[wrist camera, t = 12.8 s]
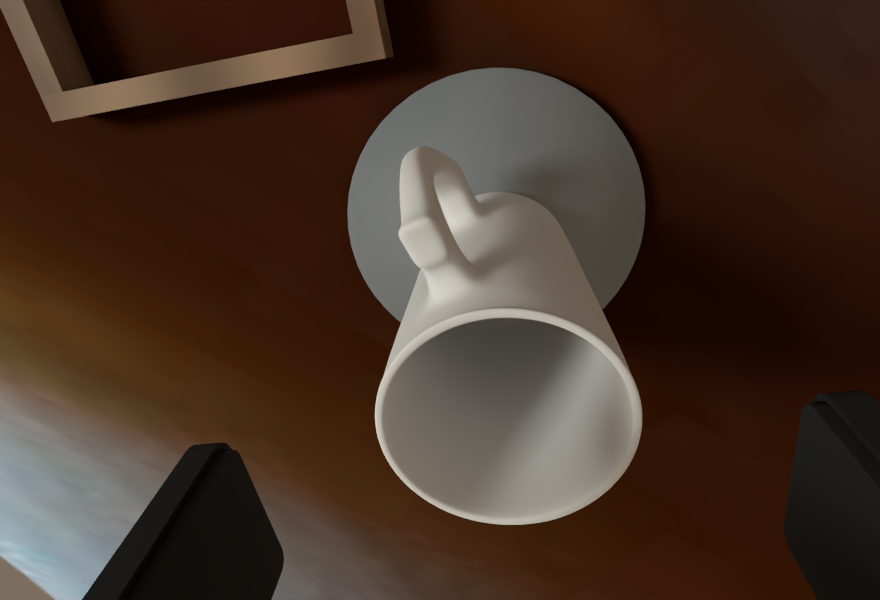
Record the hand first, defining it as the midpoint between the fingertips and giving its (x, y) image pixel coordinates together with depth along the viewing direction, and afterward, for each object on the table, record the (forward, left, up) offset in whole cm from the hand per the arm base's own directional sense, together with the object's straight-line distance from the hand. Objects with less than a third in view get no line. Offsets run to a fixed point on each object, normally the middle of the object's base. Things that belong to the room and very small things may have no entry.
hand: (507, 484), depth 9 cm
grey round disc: (0, +1, -17) cm, 17 cm away
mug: (+1, +1, -16) cm, 16 cm away
